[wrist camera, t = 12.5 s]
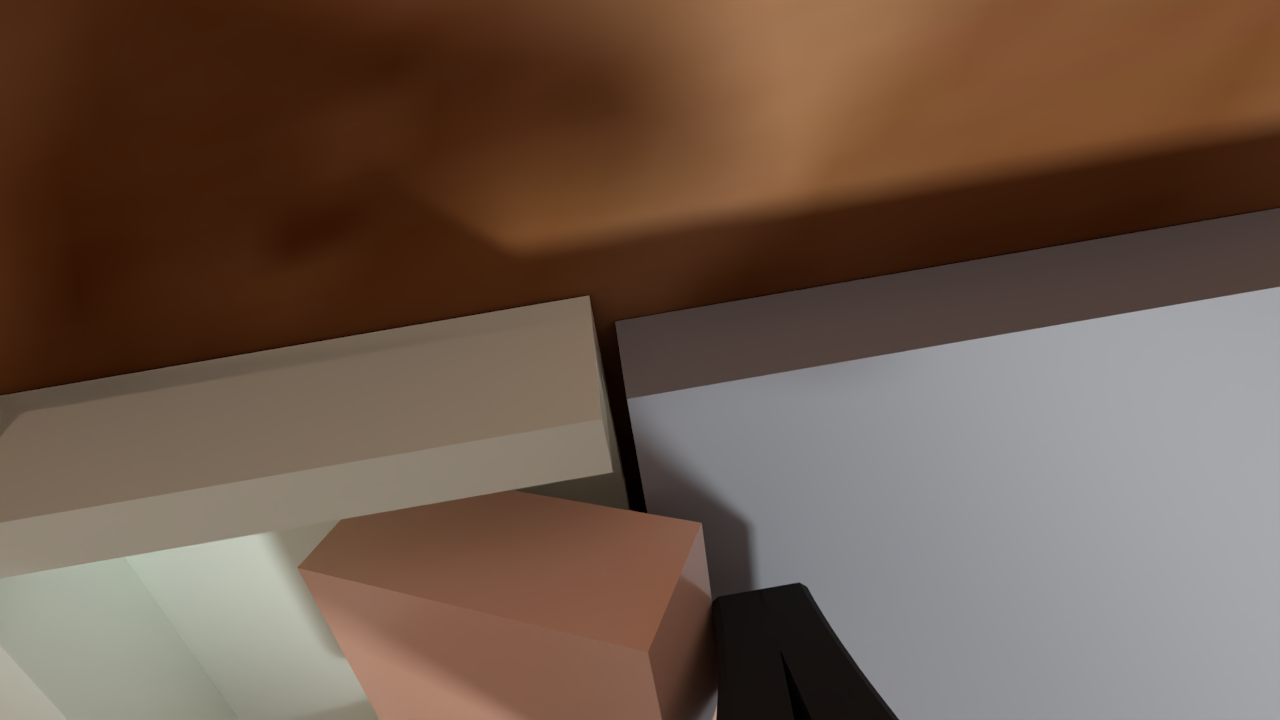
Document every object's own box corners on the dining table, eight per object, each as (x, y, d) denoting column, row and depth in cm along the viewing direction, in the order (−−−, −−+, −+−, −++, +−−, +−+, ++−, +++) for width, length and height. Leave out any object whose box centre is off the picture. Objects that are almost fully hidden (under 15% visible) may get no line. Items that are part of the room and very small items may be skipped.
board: (1211, 741, 20) (1272, 822, 18) (706, 832, 20) (720, 922, 18) (1468, 175, 12) (1620, 228, 10) (615, 321, 12) (626, 398, 10)
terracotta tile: (730, 742, 13) (693, 871, 11) (469, 671, 15) (408, 772, 13) (701, 522, 10) (648, 652, 9) (386, 468, 12) (297, 567, 10)
